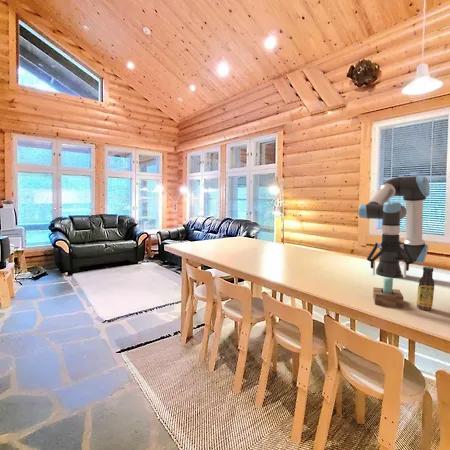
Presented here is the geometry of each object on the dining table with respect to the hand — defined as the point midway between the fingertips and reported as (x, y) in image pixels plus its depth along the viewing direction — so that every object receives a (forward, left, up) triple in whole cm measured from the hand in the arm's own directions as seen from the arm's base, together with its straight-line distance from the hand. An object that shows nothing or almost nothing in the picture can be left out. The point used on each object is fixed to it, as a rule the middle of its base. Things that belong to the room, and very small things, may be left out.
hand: (388, 275), depth 152 cm
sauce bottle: (+4, +15, -14) cm, 21 cm away
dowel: (0, 0, -13) cm, 13 cm away
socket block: (0, 0, -13) cm, 13 cm away
